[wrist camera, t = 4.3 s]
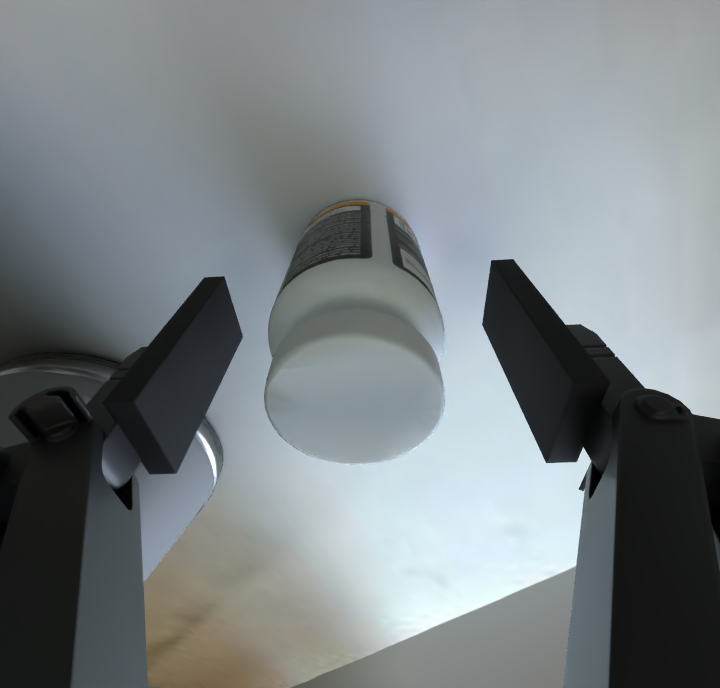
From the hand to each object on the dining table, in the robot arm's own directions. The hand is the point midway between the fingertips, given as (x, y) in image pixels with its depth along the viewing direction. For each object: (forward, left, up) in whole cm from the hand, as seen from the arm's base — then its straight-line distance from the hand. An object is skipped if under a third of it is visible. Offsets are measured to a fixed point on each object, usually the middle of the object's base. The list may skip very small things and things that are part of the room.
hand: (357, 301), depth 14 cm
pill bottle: (0, 0, -4) cm, 4 cm away
